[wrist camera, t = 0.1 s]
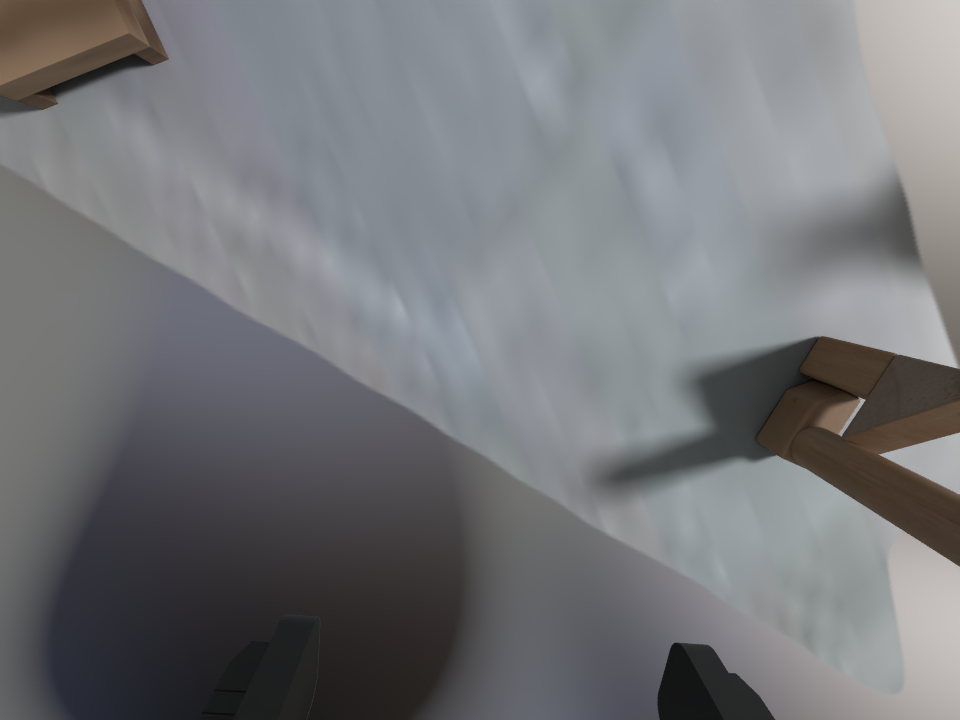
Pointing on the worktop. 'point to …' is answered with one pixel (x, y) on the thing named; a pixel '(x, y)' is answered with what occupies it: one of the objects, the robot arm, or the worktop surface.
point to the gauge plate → (68, 42)
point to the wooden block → (873, 433)
